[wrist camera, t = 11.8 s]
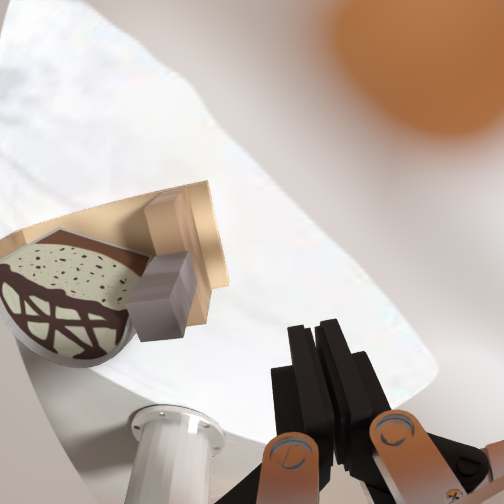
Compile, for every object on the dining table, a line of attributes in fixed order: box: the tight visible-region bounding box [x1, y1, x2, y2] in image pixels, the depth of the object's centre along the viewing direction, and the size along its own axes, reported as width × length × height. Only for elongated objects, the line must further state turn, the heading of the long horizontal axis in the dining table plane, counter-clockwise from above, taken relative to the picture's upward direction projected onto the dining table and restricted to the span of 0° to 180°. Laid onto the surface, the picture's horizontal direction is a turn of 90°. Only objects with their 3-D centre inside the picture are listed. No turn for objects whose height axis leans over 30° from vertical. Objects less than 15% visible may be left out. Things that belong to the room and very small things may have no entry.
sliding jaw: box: [125, 187, 212, 342], centre depth 20 cm, size 9×2×11 cm, turn 10°
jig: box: [0, 180, 229, 289], centre depth 24 cm, size 9×21×6 cm, turn 100°
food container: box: [0, 227, 153, 368], centre depth 22 cm, size 12×6×10 cm, turn 72°
